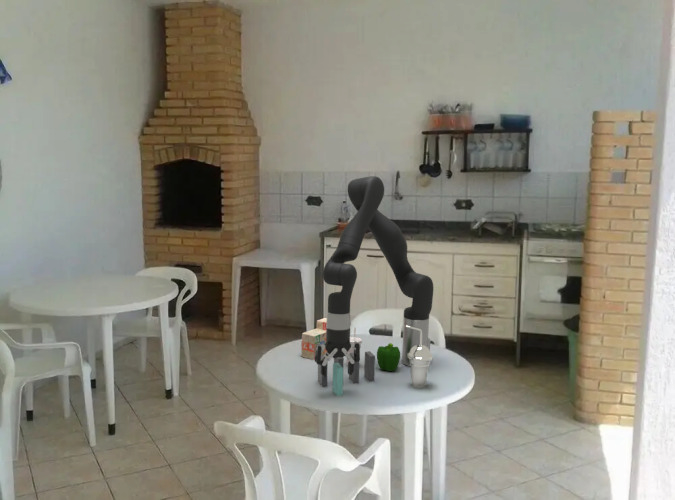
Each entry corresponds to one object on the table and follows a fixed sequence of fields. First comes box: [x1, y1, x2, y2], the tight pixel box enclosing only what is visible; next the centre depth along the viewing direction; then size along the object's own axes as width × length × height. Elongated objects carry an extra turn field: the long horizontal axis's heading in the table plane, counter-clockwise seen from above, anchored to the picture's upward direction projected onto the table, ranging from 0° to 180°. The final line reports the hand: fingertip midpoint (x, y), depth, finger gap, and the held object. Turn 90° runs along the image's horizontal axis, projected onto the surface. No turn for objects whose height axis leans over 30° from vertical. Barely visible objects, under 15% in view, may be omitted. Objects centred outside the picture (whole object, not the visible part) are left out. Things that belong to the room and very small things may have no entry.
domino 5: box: [363, 351, 376, 383], centre depth 217 cm, size 2×5×9 cm, turn 17°
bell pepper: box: [376, 342, 401, 372], centre depth 227 cm, size 8×8×10 cm
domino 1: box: [317, 355, 329, 387], centre depth 212 cm, size 2×5×9 cm, turn 17°
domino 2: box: [333, 357, 344, 368], centre depth 213 cm, size 2×5×9 cm, turn 17°
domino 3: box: [332, 362, 344, 397], centre depth 204 cm, size 2×5×9 cm, turn 17°
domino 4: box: [348, 353, 360, 384], centre depth 215 cm, size 2×5×9 cm, turn 17°
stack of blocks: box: [300, 316, 327, 361], centre depth 245 cm, size 21×6×12 cm, turn 144°
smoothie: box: [346, 327, 363, 367], centre depth 230 cm, size 6×6×14 cm
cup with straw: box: [406, 325, 434, 389], centre depth 211 cm, size 8×9×20 cm
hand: (337, 375), depth 204 cm, fingers open, 8 cm apart
